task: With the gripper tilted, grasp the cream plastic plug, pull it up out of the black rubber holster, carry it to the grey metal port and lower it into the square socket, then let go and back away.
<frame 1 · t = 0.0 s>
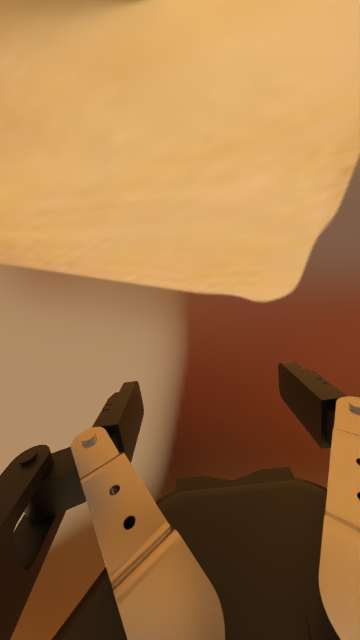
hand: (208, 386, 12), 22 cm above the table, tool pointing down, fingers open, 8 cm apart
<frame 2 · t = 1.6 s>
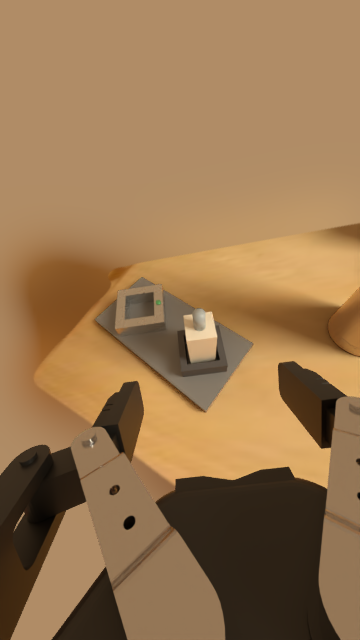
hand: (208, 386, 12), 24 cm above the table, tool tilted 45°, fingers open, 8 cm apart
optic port: (143, 313, 42), resting on port board
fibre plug: (200, 337, 31), in the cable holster, point 8 cm above the table, touching port board
port board: (168, 334, 41), on the table
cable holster: (201, 350, 35), on the port board, point 2 cm above the table
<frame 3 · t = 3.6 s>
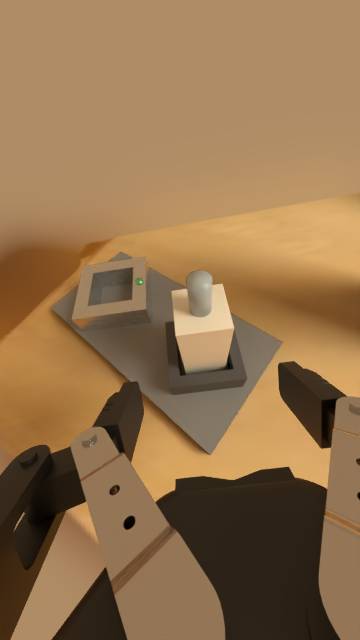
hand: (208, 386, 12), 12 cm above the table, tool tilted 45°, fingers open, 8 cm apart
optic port: (119, 299, 30), resting on port board
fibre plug: (201, 331, 18), in the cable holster, point 8 cm above the table, touching port board
port board: (154, 328, 28), on the table
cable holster: (202, 353, 22), on the port board, point 3 cm above the table
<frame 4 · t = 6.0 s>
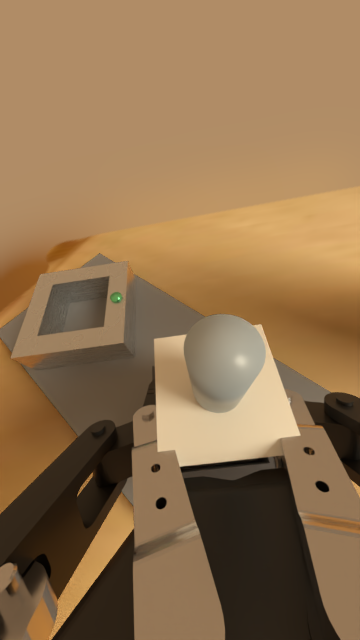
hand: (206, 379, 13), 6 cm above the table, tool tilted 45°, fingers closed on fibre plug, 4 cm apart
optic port: (91, 321, 21), resting on port board
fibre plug: (214, 405, 10), in the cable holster, point 8 cm above the table, touching gripper, port board
port board: (140, 364, 20), on the table
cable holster: (211, 418, 14), on the port board, point 3 cm above the table
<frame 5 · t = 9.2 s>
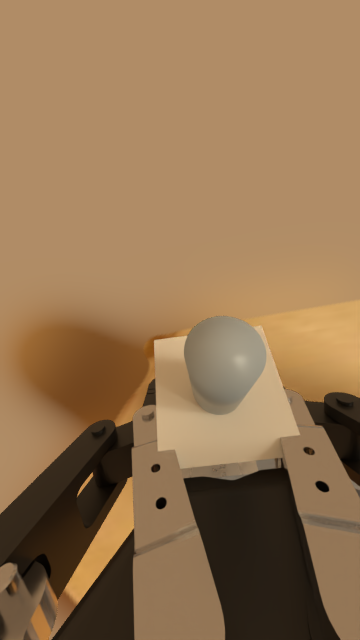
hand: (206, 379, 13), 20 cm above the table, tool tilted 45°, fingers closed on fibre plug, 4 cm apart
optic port: (209, 432, 28), resting on port board
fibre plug: (214, 406, 10), point 22 cm above the table, touching gripper
port board: (252, 470, 26), on the table
when the fingers open (6 cm above the table, at t = 12.7 s): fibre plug stays where it is, resting on port board.
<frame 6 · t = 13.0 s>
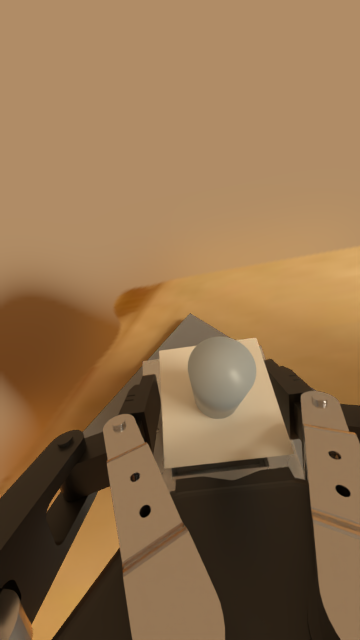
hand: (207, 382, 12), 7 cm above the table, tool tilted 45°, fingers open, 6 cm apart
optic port: (210, 423, 16), resting on port board
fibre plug: (213, 410, 10), in the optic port, point 8 cm above the table, touching port board
port board: (287, 490, 15), on the table
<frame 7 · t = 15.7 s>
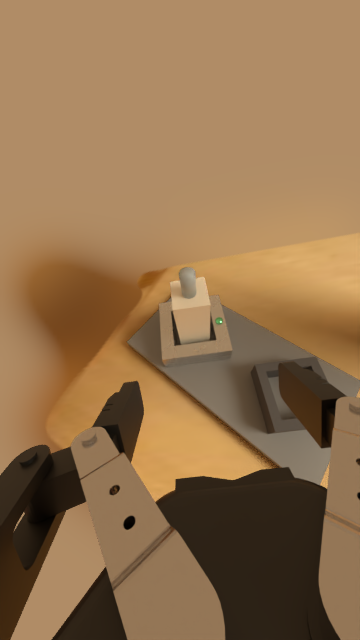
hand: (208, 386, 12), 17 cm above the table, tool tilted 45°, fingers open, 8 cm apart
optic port: (193, 334, 31), resting on port board
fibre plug: (191, 310, 26), in the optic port, point 8 cm above the table, touching port board
port board: (230, 363, 30), on the table
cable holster: (292, 394, 24), on the port board, point 2 cm above the table
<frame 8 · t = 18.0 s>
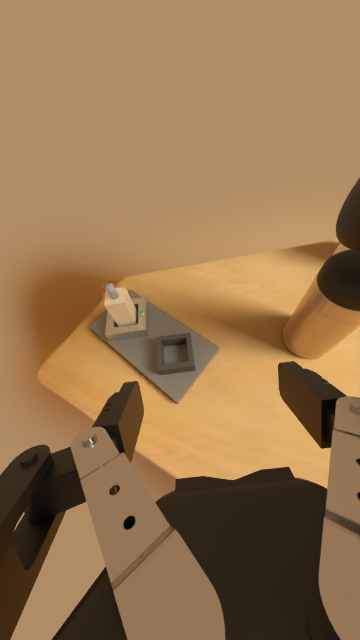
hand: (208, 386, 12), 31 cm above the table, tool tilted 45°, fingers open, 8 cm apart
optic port: (130, 321, 50), resting on port board
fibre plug: (120, 306, 45), in the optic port, point 8 cm above the table, touching port board
milk carton: (352, 257, 55), on the table
port board: (151, 339, 49), on the table
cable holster: (175, 353, 43), on the port board, point 2 cm above the table
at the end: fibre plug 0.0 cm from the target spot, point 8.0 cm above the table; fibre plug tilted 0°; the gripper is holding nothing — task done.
